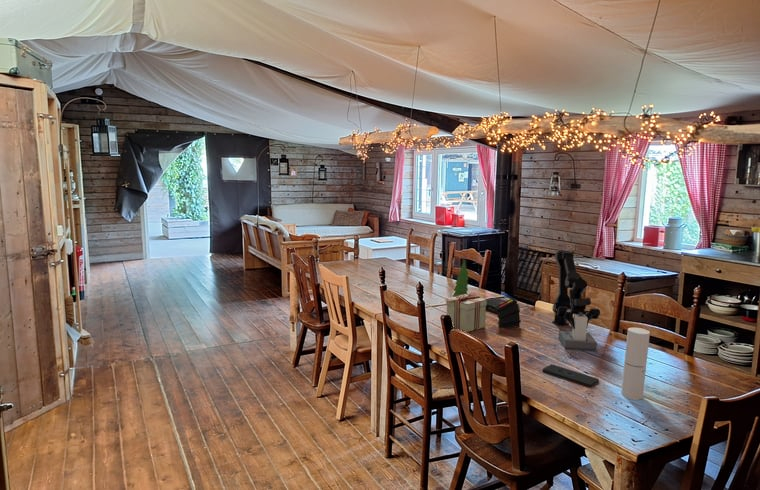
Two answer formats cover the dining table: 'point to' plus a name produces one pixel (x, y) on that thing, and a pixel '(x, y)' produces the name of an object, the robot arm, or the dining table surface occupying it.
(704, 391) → the dining table surface
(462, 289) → the decorative tree
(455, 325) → the gift box
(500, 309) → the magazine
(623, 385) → the cylindrical container
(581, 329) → the white upright cylinder
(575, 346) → the block
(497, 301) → the portable cd player
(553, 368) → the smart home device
